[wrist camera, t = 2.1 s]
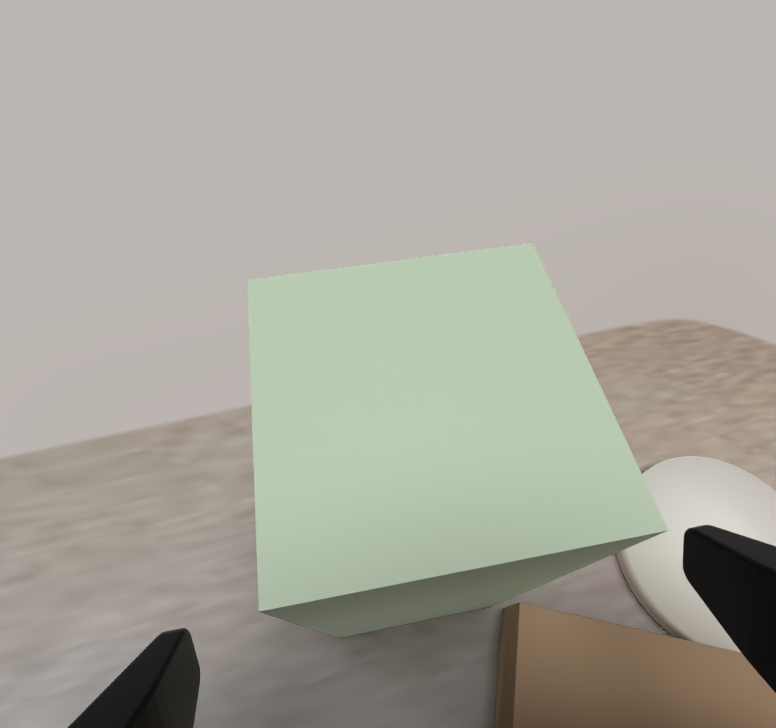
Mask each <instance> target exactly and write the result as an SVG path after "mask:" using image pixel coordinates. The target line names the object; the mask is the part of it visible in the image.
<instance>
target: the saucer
mask: <svg viewBox="0 0 776 728" xmlns="http://www.w3.org/2000/svg"><path fill="white" fill-rule="evenodd" d="M642 475H643V478H644V480H645V482H646V484H647V486H648V488H649V490H650V492H651V495H652V497H653V499H654V501H655V503H656V505H657V507H658V509H659V511H660V514H661V516H662V518H663V520H664V522H665V524H666V526H667V528H668V531H666V532H664V533H661V534H659V535H657V536H654V537H652V538H650V539H647V540H645V541H643V542H640V543H638V544H636V545H633V546H631V547H629V548H626V549H624V550H622V551H619V552H617V553H616V555H617V559H618V562H619V565H620V568H621V570H622V573H623V575H624V577H625V579H626V581H627V583H628V585H629V587H630V588H631V590H632V592H633V593H634V595H635V597H636V598H637V599H638V601H639V602H640V603H641V605H642V606H643V607H644V609H645V610H646V611H647V612H648V613H649V614H650V615H651V616H652V617H653V619H654V620H655V621H656V622H657V623H659V624H660V625H661V626H662V627H663V628H664V629H665V630H666V631H668V632H669V633H670V634H672V635H673V636H674V637H676V638H680V639H684V640H688V641H693V642H697V643H702V644H706V645H711V646H715V647H719V648H724V649H728V650H733V651H737V652H741V651H740V650H739V649H738V648H737V646H736V645H735V644H734V642H733V641H732V640H731V638H730V637H729V636H728V634H727V633H726V632H725V630H724V629H723V627H722V626H721V625H720V623H719V622H718V621H717V619H716V618H715V617H714V615H713V614H712V613H711V611H710V610H709V609H708V607H707V606H706V605H705V603H704V602H703V600H702V599H701V598H700V596H699V595H698V594H697V592H696V591H695V590H694V588H693V587H692V586H691V584H690V583H689V581H688V580H687V578H686V576H685V574H684V571H683V541H684V533H685V531H686V530H687V529H688V528H692V527H697V526H702V525H712V526H715V527H718V528H721V529H724V530H727V531H730V532H733V533H737V534H740V535H743V536H746V537H749V538H752V539H755V540H758V541H761V542H764V543H767V544H770V545H774V546H776V491H775V490H773V489H772V488H771V487H770V486H768V485H767V484H766V483H764V482H763V481H761V480H760V479H759V478H757V477H755V476H754V475H752V474H750V473H749V472H747V471H745V470H743V469H741V468H739V467H736V466H734V465H732V464H729V463H726V462H723V461H720V460H716V459H712V458H706V457H699V456H684V457H676V458H672V459H668V460H665V461H662V462H660V463H658V464H656V465H654V466H653V467H651V468H650V469H648V470H647V471H645V472H644V473H642Z"/></svg>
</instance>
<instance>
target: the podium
mask: <svg viewBox="0 0 776 728" xmlns="http://www.w3.org/2000/svg"><path fill="white" fill-rule="evenodd" d="M494 728H776V693H775V692H774V691H773V690H772V688H771V687H770V686H769V685H768V684H767V683H766V682H765V680H764V679H763V678H762V677H761V676H760V675H759V674H758V672H757V671H756V670H755V669H754V668H753V666H752V665H751V664H750V663H749V662H748V660H747V659H746V658H745V657H744V655H743V654H742V653H741V652H737V651H733V650H728V649H724V648H719V647H715V646H711V645H706V644H702V643H697V642H693V641H688V640H684V639H680V638H675V637H671V636H666V635H662V634H658V633H653V632H649V631H644V630H640V629H635V628H631V627H627V626H622V625H618V624H613V623H609V622H604V621H600V620H596V619H591V618H587V617H582V616H578V615H573V614H569V613H565V612H560V611H556V610H551V609H547V608H543V607H538V606H534V605H529V604H525V603H517V604H514V605H512V606H509V607H506V608H503V614H502V628H501V642H500V656H499V670H498V684H497V697H496V711H495V725H494Z"/></svg>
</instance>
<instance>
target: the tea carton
mask: <svg viewBox="0 0 776 728" xmlns="http://www.w3.org/2000/svg"><path fill="white" fill-rule="evenodd" d="M247 288H248V317H249V344H250V345H249V346H250V373H251V374H250V375H251V404H252V432H253V461H254V490H255V519H256V548H257V576H258V605H259V612H261V613H264V614H268V615H271V616H274V617H277V618H280V619H283V620H286V621H289V622H292V623H295V624H298V625H301V626H304V627H307V628H310V629H314V630H317V631H320V632H323V633H326V634H329V635H332V636H335V637H338V638H342V637H347V636H352V635H357V634H361V633H366V632H371V631H376V630H381V629H386V628H390V627H395V626H400V625H405V624H410V623H415V622H419V621H424V620H429V619H434V618H439V617H444V616H448V615H453V614H458V613H463V612H468V611H473V610H477V609H482V608H487V607H491V606H494V605H496V604H498V603H501V602H503V601H505V600H508V599H510V598H512V597H515V596H517V595H519V594H522V593H524V592H526V591H529V590H531V589H533V588H536V587H538V586H540V585H543V584H545V583H547V582H550V581H552V580H554V579H557V578H559V577H561V576H564V575H566V574H568V573H571V572H573V571H575V570H578V569H580V568H582V567H585V566H587V565H589V564H592V563H594V562H596V561H599V560H601V559H603V558H606V557H608V556H610V555H612V554H615V553H617V552H619V551H622V550H624V549H626V548H629V547H631V546H633V545H636V544H638V543H640V542H643V541H645V540H647V539H650V538H652V537H654V536H657V535H659V534H661V533H664V532H666V531H668V528H667V526H666V524H665V522H664V520H663V518H662V516H661V514H660V511H659V509H658V507H657V505H656V503H655V501H654V499H653V497H652V495H651V492H650V490H649V488H648V486H647V484H646V482H645V480H644V478H643V475H642V473H641V471H640V469H639V467H638V465H637V463H636V461H635V458H634V456H633V454H632V452H631V450H630V448H629V446H628V444H627V442H626V439H625V437H624V435H623V433H622V431H621V429H620V427H619V425H618V422H617V420H616V418H615V416H614V414H613V412H612V410H611V408H610V405H609V403H608V401H607V399H606V397H605V395H604V393H603V391H602V389H601V386H600V384H599V382H598V380H597V378H596V376H595V374H594V372H593V369H592V367H591V365H590V363H589V361H588V359H587V357H586V355H585V352H584V350H583V348H582V346H581V344H580V342H579V340H578V338H577V336H576V333H575V331H574V329H573V327H572V325H571V323H570V321H569V319H568V317H567V314H566V312H565V310H564V308H563V306H562V304H561V302H560V300H559V297H558V295H557V293H556V291H555V289H554V287H553V285H552V283H551V280H550V278H549V276H548V274H547V272H546V270H545V268H544V266H543V263H542V261H541V259H540V257H539V255H538V253H537V251H536V249H535V246H534V244H533V243H527V244H520V245H513V246H504V247H498V248H489V249H481V250H475V251H474V250H473V251H466V252H458V253H450V254H442V255H435V256H427V257H420V258H412V259H404V260H397V261H389V262H381V263H374V264H366V265H357V266H350V267H342V268H334V269H327V270H319V271H311V272H303V273H296V274H288V275H280V276H273V277H265V278H258V279H249V280H247Z"/></svg>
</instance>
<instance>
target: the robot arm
mask: <svg viewBox="0 0 776 728" xmlns="http://www.w3.org/2000/svg"><path fill="white" fill-rule="evenodd" d="M683 571H684V574H685V576H686V578H687V580H688V581H689V583H690V584H691V586H692V587H693V588H694V590H695V591H696V592H697V594H698V595H699V596H700V598H701V599H702V600H703V602H704V603H705V605H706V606H707V607H708V609H709V610H710V611H711V613H712V614H713V615H714V617H715V618H716V619H717V621H718V622H719V623H720V625H721V626H722V627H723V629H724V630H725V632H726V633H727V634H728V636H729V637H730V638H731V640H732V641H733V642H734V644H735V645H736V646H737V648H738V649H739V650H740V651H741V653H742V654H743V655H744V657H745V658H746V659H747V660H748V662H749V663H750V664H751V665H752V666H753V668H754V669H755V670H756V671H757V672H758V674H759V675H760V676H761V677H762V678H763V679H764V680H765V682H766V683H767V684H768V685H769V686H770V687H771V688H772V690H773V691H774V692H775V693H776V546H774V545H770V544H767V543H764V542H761V541H758V540H755V539H752V538H749V537H746V536H743V535H740V534H737V533H733V532H730V531H727V530H724V529H721V528H718V527H715V526H712V525H702V526H697V527H692V528H688V529H687V530H686V531H685V533H684V541H683ZM199 685H200V667H199V663H198V659H197V656H196V652H195V648H194V645H193V641H192V638H191V634H190V632H189V631H188V630H187V629H185V628H181V629H176V630H171V631H166V632H163V633H161V634H160V635H158V636H157V637H156V638H155V639H154V640H153V641H152V642H151V643H150V644H149V645H148V646H147V647H146V648H145V649H144V651H143V652H142V653H141V654H140V655H139V656H138V657H137V658H136V659H135V660H134V661H133V662H132V663H131V664H130V665H129V666H128V667H127V668H126V669H125V670H124V671H123V672H122V673H121V674H120V675H119V676H118V677H117V678H116V679H115V680H114V681H113V682H112V683H111V684H110V685H109V686H108V687H107V688H106V689H105V690H104V691H103V692H102V693H101V694H100V695H99V696H98V697H97V698H96V699H95V700H94V701H93V702H92V703H91V704H90V705H89V706H88V707H87V708H86V709H85V710H84V711H83V713H82V714H81V715H80V716H79V717H78V718H77V719H76V720H75V721H74V722H73V723H72V724H71V725H70V726H69V727H68V728H193V726H194V719H195V712H196V705H197V698H198V692H199Z"/></svg>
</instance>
